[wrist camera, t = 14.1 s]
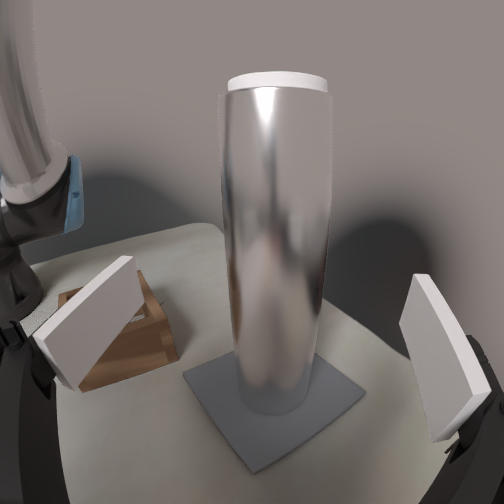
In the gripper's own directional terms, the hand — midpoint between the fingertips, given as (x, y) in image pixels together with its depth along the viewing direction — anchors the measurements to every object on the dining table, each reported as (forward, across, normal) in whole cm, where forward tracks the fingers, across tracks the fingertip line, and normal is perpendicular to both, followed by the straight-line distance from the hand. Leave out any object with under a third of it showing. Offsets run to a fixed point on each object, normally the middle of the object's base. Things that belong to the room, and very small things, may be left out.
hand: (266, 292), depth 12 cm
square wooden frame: (+8, -19, -16) cm, 26 cm away
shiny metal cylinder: (+6, 0, -15) cm, 16 cm away
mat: (+6, 0, -16) cm, 17 cm away
